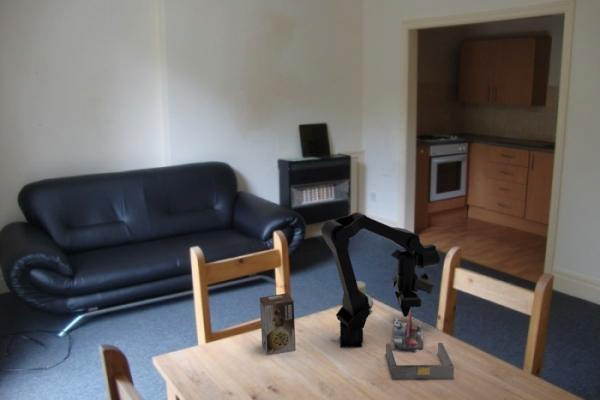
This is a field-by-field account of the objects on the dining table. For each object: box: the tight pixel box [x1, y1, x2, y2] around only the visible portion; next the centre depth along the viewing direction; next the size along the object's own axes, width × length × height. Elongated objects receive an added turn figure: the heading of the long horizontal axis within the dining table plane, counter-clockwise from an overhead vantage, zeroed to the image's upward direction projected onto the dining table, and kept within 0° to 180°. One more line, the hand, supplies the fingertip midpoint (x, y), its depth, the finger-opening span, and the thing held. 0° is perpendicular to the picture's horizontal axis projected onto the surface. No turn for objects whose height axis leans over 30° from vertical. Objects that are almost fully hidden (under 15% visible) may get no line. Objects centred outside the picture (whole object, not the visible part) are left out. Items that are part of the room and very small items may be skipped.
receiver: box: [385, 342, 455, 380], centre depth 158 cm, size 16×14×4 cm
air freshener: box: [340, 280, 374, 311], centre depth 194 cm, size 11×8×10 cm
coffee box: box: [259, 292, 297, 356], centre depth 169 cm, size 9×6×16 cm
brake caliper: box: [390, 310, 425, 351], centre depth 171 cm, size 11×11×12 cm
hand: (405, 316), depth 179 cm, fingers closed
